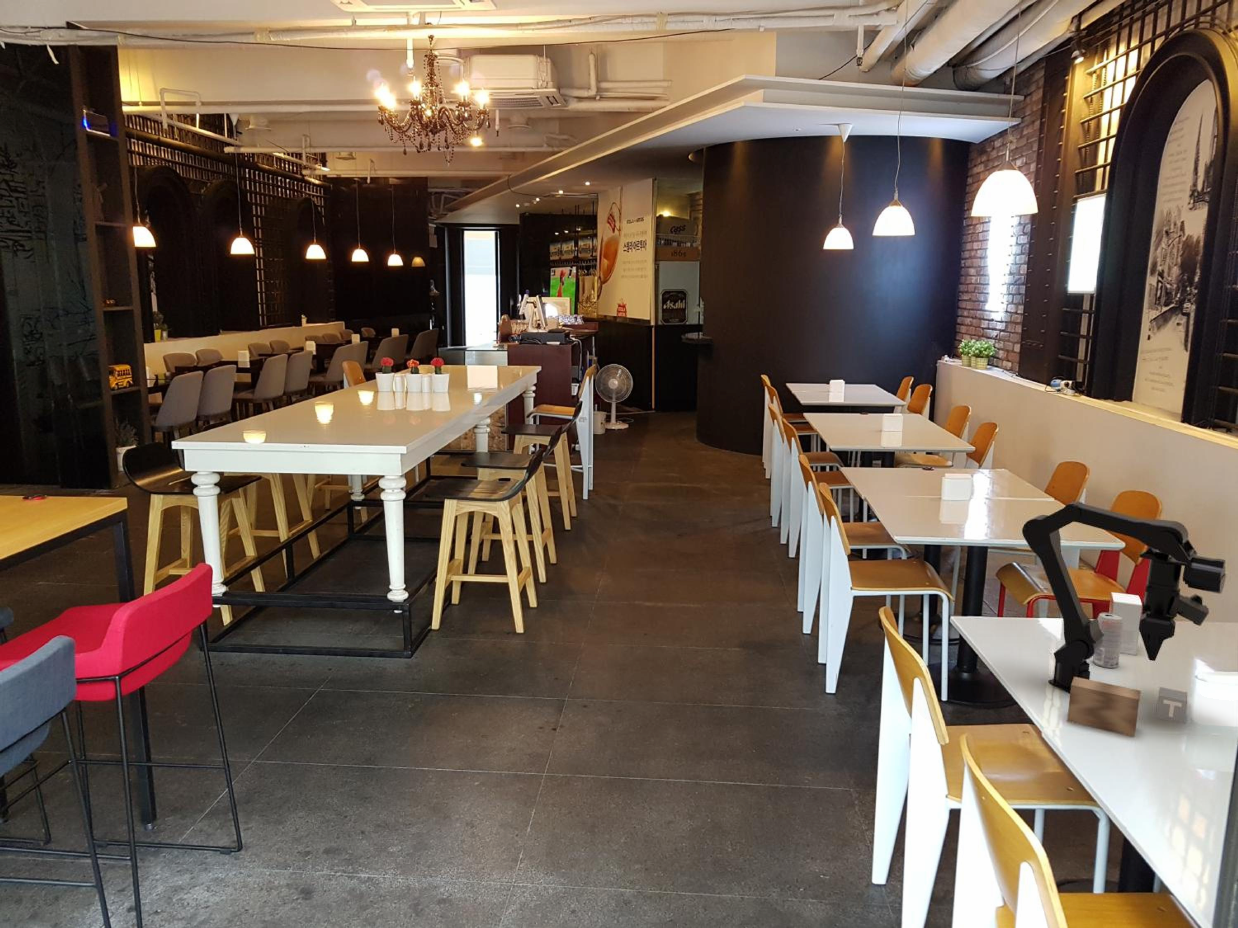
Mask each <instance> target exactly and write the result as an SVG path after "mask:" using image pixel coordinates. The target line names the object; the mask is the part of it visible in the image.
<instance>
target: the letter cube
mask: <svg viewBox="0 0 1238 928" xmlns="http://www.w3.org/2000/svg"><path fill="white" fill-rule="evenodd" d="M1187 707H1188V691H1182V690H1177V689H1174V688H1173V689H1172V688H1167V687H1162V686H1159V689H1158V696H1157V705H1156V715H1155V718H1157V719H1160V720H1161V719H1162V720H1165V721H1170V722H1176V723H1180V724H1185V723H1186V716H1187Z"/></svg>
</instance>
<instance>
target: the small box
mask: <svg viewBox="0 0 1238 928" xmlns="http://www.w3.org/2000/svg"><path fill="white" fill-rule="evenodd" d="M1142 607H1143V602H1142V600H1141V598H1140V596H1139V595H1136V594H1128V593H1123V592H1122V593H1121V592H1113V591H1111V593H1110V600H1109V610H1108V613H1114V614H1117V615H1120V616H1122V617H1123V621H1124V622H1123V630H1122V639H1121V647H1120V654H1125V655H1130V656H1131V655H1132V656H1136V655H1137V653H1138V645H1139V637H1140V632H1139V623H1140V617H1141V616H1142V611H1143V609H1142Z"/></svg>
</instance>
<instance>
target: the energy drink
mask: <svg viewBox="0 0 1238 928" xmlns="http://www.w3.org/2000/svg"><path fill="white" fill-rule="evenodd" d="M1097 620H1098V623H1099V627H1100V630H1101V632H1102V633H1103V634H1104V637H1102V640H1103V644H1102V646H1101V648H1100V649H1099V650H1098V651H1097V652H1096V653H1095V654H1094V655H1093V656H1092V663H1094V664H1095V665H1096V666H1098V667H1101V668H1105V669H1116V668H1117V667H1118V666H1119V663H1120V657H1121V656H1120V654H1121V653H1120V647H1121V639H1122V630H1123V622H1124V621H1123V617H1122V616H1120V615H1117V614H1114V613H1109V612H1100V613H1099V615H1098V617H1097Z"/></svg>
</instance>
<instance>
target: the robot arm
mask: <svg viewBox="0 0 1238 928" xmlns="http://www.w3.org/2000/svg"><path fill="white" fill-rule="evenodd" d="M1071 523H1077V524H1082V525H1086V526H1089V527H1093V528H1097V529H1101V530H1104V531H1107V532H1111V533H1115V534H1118V535H1122V536H1126V537H1130V538H1132V539H1134V540H1137V541H1139V542H1140V543H1142V544H1143V545H1145V546H1147V549H1146V550H1144V551H1142V553H1140V554H1139V557H1138V558H1141V559H1145V560H1146V559H1147V560H1149V564H1148V565H1149V566H1148V573H1147V579H1146V586H1145V595H1144V597H1143V601H1142V611H1141V617H1140V623H1139V635H1140V636H1141V639H1142V642H1143V646H1144V648H1145V652H1146V655H1147V658H1148V660H1149V661H1152V662H1155V661H1156V659H1157V658H1158V654H1159V652H1160V650H1161V647H1162V645H1163V644H1164V641H1166V640H1168V639H1171V638H1173V637H1174V636H1175V632H1176V625H1177V624H1176V623H1177V622H1176V621H1175V618H1177V617H1178V616H1180V617H1182V618H1184V619H1186V620H1188V621H1190V622H1192V623H1193V624H1194V625H1196V626H1198V627H1199V626H1200V627H1201V625H1202V624H1203V623H1204V621H1205V620H1206V618H1207V617H1208V615H1209V612H1210V610H1209V608H1208V607H1207V605H1204V604H1203V597H1202V595H1201V596H1200V595H1198V594H1196V593H1195V594H1193V595H1191V596H1187V595H1186V596H1184V595H1182V594H1181V588H1179V587H1180V584H1181V583H1180V582H1181V576H1182V581H1183V582H1184V585H1187V588H1190V589H1194V590H1195V589H1196V590H1200V591H1202V592H1203V591H1204V592H1209V593H1214V594H1219V595H1221V594H1222V593H1223V590H1224V587H1225V582H1226V578H1227V573H1226V559H1222V558H1212V557H1206V556H1200V555H1198V552H1197V550H1196V549H1195V547H1194V546H1193V544H1192V543H1191V541H1190V540H1189V532H1188V530H1187V528H1186V526H1185V525H1184V524H1183V523H1181V522H1179V521H1176V520H1167V519H1157V518H1156V519H1153V518H1151V519H1150V518H1139V517H1135V516H1132V515H1128V514H1123V513H1120V512H1116V511H1112V510H1108V509H1104V508H1102V507H1101V508H1100V507H1097V506H1092V505H1090V504H1085V503H1083V502H1081V501H1076V500H1075V501H1072V502H1070V503H1067V504H1066V505H1065V506H1064V507H1062V508H1061V509H1059V510H1057V511H1055V512H1053V513H1051V514H1049V515H1048V514H1047V515H1046V514H1040V515H1037V516H1035V517H1033V518H1031V519H1029V520H1027V521H1026V522H1025V523H1024V525H1023V527H1022V528H1021V534H1022V536H1023V537H1022V538H1024V540H1025V542H1026V543H1027V545H1028V547H1029V549H1030V550H1031V551H1032V552H1033V554H1035V555H1036V557H1038V558H1039V560H1040V563H1041V565H1042V567H1043V568H1042V569H1043V570H1044V573H1045V576H1046V578H1047V581H1048V584H1049V586H1050V589H1051V591H1052V594H1053V596H1054V599H1055V602H1056V605H1057V607H1058V610H1059V612H1060V614H1061V617H1062V619H1063V620H1062V621H1063V637H1064V644H1063V645H1061V646H1060V647H1059V648H1058V649H1057V650H1055V651H1054V653H1053V656H1054V659H1055V660H1054V661H1055V662H1054V670H1053V679H1048V680H1047V681H1048V684H1050V685H1052V686H1056V687H1057V688H1059V689H1062V690H1063V691H1066V692H1068V693H1070V691H1071V684H1072V681H1073V679H1074V677H1078V678H1083V679H1088V680H1091V671H1090V663H1089V662H1088V661H1087V660H1089V659H1091V658H1093V656H1094V654H1095V653H1096V652H1097V651H1098V650H1099V649H1100V648H1101V646H1102V644H1103V640H1102V637H1104V634H1103V633H1102V632H1101V630H1100V627H1099V623H1098V618H1094V619H1090V618H1089V616H1088V615H1087V614H1086V613H1085V612H1084V609H1083V605H1082V604H1081V601H1080V599H1079V596H1078V594H1077V593H1078V592H1077V590H1076V589H1075V585H1074V584H1073V580H1072V578H1071V576H1070V573H1069V570H1068V567H1067V565H1066V562H1065V560H1064V557H1063V555H1062V550H1061V548H1062V544H1061V543H1062V542H1061V540H1062V539H1061V533H1060V529H1062V528H1064V527H1066V526H1068V525H1070V524H1071ZM1183 567H1184V568H1183ZM1182 569H1183V573H1182Z"/></svg>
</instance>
